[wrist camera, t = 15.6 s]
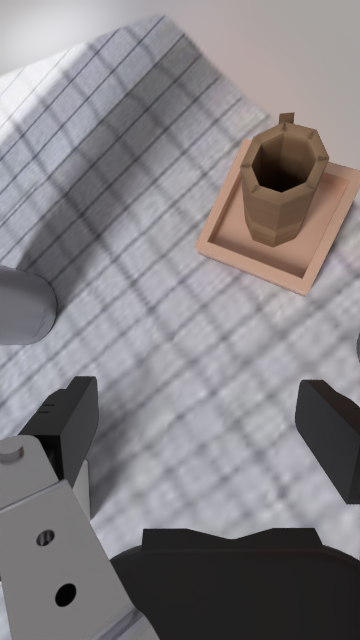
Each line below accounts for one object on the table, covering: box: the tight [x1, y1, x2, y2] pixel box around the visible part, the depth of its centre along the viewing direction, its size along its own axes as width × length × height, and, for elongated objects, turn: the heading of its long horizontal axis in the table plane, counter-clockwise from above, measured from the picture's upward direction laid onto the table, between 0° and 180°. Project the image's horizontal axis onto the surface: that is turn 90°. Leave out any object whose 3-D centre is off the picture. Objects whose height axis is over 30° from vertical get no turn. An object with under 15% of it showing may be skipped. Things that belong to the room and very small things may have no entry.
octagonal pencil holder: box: [240, 113, 329, 248], centre depth 25 cm, size 5×7×10 cm
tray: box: [195, 139, 360, 296], centre depth 29 cm, size 12×12×2 cm
